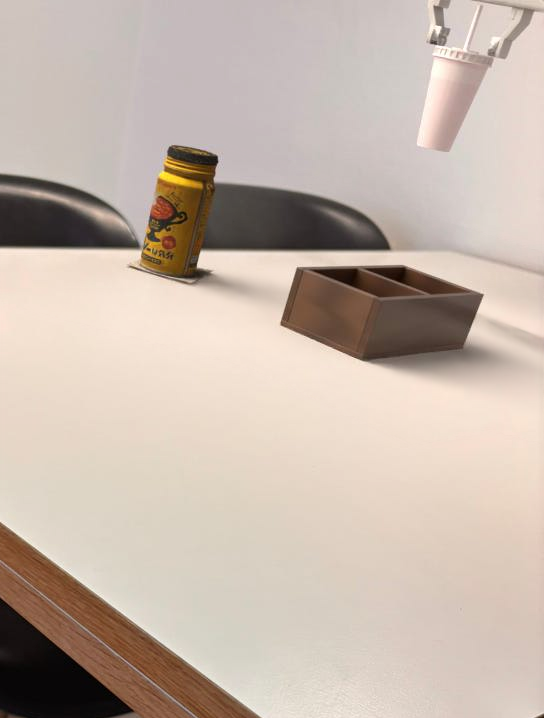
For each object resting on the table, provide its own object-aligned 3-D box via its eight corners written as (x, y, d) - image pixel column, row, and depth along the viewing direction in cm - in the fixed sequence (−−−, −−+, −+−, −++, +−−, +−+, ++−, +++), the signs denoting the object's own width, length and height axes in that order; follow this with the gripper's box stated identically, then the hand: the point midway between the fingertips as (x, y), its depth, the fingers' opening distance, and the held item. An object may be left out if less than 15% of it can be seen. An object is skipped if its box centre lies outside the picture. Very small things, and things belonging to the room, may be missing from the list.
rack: (463, 347, 110) (484, 294, 107) (361, 360, 98) (382, 300, 95) (384, 316, 115) (402, 264, 112) (279, 324, 103) (296, 266, 100)
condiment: (125, 266, 112) (151, 143, 106) (152, 255, 119) (178, 139, 113) (189, 285, 110) (220, 161, 104) (213, 273, 117) (243, 156, 111)
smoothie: (405, 144, 117) (452, -3, 110) (403, 139, 123) (447, -1, 115) (463, 157, 117) (514, 10, 109) (459, 151, 122) (507, 12, 115)
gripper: (627, -87, 103) (566, 72, 111) (446, -107, 115) (402, 38, 122) (599, -100, 99) (539, 66, 107) (415, -119, 111) (371, 31, 118)
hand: (464, 51), depth 115 cm, fingers closed on smoothie, 6 cm apart
